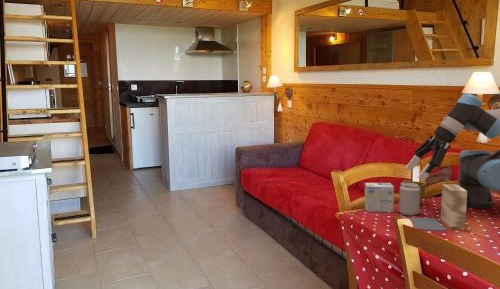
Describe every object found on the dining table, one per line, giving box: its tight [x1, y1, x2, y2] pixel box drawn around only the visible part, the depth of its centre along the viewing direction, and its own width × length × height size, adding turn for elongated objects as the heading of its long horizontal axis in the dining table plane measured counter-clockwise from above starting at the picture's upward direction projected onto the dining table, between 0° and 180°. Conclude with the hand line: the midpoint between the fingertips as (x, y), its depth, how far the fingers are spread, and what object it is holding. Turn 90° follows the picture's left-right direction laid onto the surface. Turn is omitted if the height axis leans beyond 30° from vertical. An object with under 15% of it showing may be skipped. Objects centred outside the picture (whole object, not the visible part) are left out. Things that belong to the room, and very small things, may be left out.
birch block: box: [440, 183, 467, 231], centre depth 145 cm, size 5×10×14 cm, turn 172°
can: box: [398, 182, 421, 217], centre depth 160 cm, size 8×8×12 cm
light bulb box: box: [364, 182, 395, 213], centre depth 165 cm, size 11×7×11 cm, turn 84°
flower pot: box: [399, 180, 427, 204], centre depth 174 cm, size 9×9×9 cm
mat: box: [407, 217, 447, 232], centre depth 148 cm, size 13×13×1 cm
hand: (414, 174), depth 161 cm, fingers open, 13 cm apart
